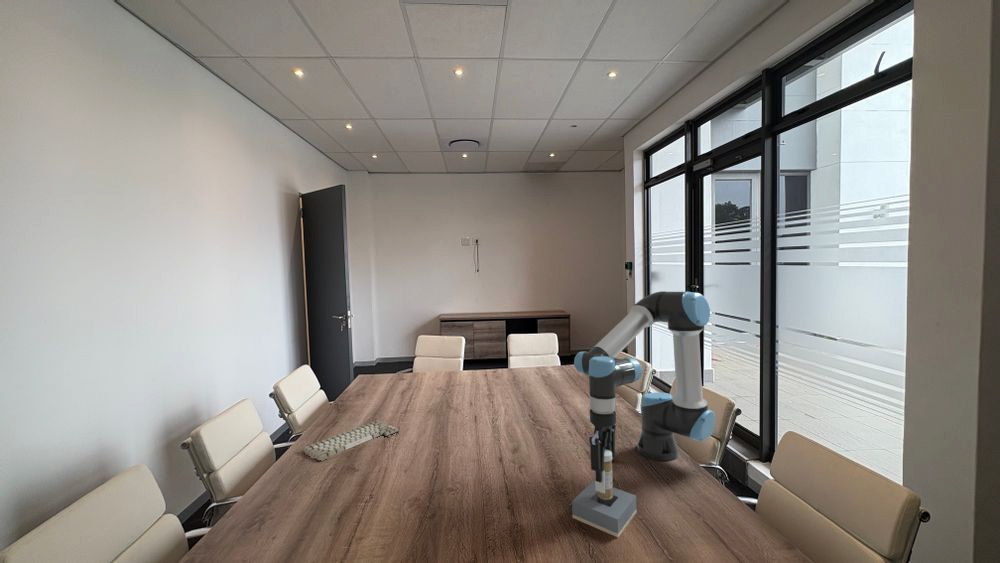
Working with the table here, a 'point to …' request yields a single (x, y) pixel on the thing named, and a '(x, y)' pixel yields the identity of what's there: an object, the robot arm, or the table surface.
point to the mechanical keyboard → (349, 439)
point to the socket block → (604, 509)
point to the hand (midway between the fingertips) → (604, 487)
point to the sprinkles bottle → (607, 476)
